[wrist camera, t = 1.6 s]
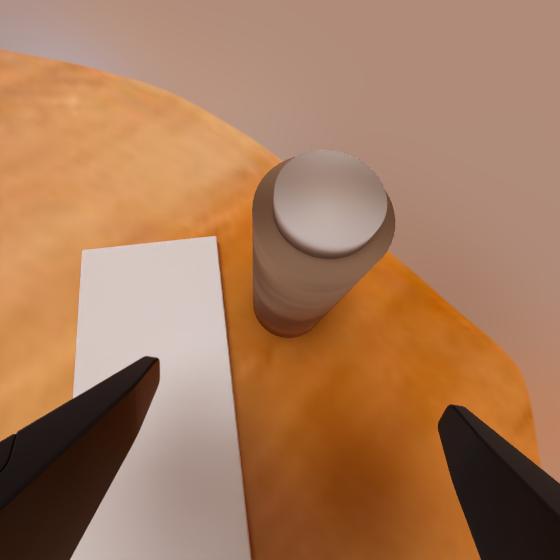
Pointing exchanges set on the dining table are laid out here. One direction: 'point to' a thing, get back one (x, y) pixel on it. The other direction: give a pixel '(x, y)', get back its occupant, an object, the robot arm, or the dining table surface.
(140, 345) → the grey board
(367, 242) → the pepper mill
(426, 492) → the dining table surface
